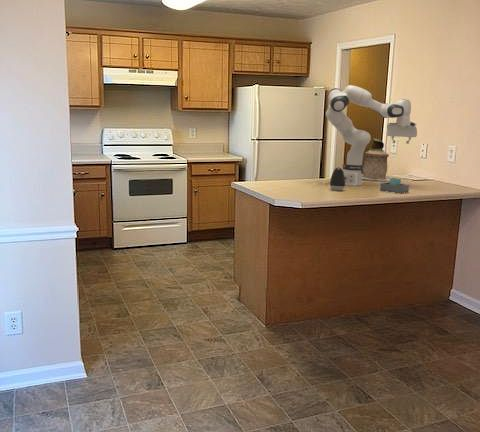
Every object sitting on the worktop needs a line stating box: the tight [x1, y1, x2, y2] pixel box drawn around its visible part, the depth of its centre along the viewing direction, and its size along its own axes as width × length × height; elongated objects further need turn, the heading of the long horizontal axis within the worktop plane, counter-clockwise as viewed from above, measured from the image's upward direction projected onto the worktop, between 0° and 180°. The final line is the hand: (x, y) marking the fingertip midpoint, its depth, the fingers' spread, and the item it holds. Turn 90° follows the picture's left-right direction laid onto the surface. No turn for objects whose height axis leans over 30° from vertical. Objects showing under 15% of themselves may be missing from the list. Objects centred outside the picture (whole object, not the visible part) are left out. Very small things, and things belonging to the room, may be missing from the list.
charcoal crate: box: [379, 181, 410, 194], centre depth 349 cm, size 12×15×5 cm
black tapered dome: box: [329, 166, 346, 192], centre depth 344 cm, size 10×10×15 cm
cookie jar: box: [362, 137, 391, 182], centre depth 407 cm, size 25×25×32 cm
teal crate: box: [389, 177, 402, 186], centre depth 349 cm, size 6×5×8 cm
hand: (400, 143), depth 364 cm, fingers open, 8 cm apart
